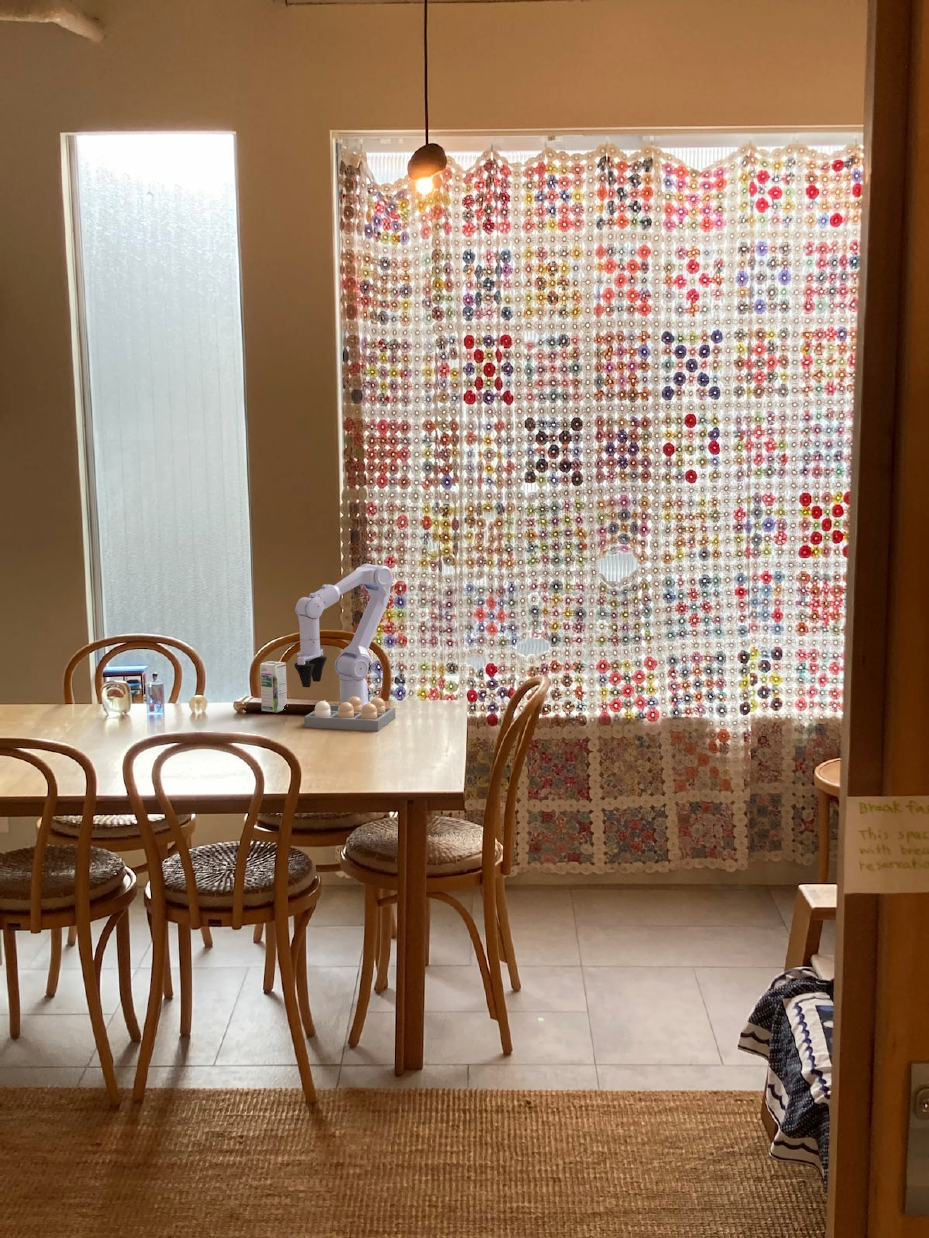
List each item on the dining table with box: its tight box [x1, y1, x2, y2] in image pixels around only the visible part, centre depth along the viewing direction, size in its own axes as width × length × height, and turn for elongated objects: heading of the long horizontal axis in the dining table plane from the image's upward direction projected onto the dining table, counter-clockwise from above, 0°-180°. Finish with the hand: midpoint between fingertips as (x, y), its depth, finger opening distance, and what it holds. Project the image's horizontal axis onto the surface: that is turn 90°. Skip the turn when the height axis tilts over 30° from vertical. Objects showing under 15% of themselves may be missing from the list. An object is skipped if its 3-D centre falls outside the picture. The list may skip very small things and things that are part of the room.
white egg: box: [314, 700, 331, 717], centre depth 329 cm, size 4×4×6 cm
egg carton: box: [304, 696, 396, 732], centre depth 331 cm, size 15×22×7 cm
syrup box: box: [259, 660, 288, 713], centre depth 347 cm, size 6×6×14 cm
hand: (311, 684), depth 339 cm, fingers open, 7 cm apart
